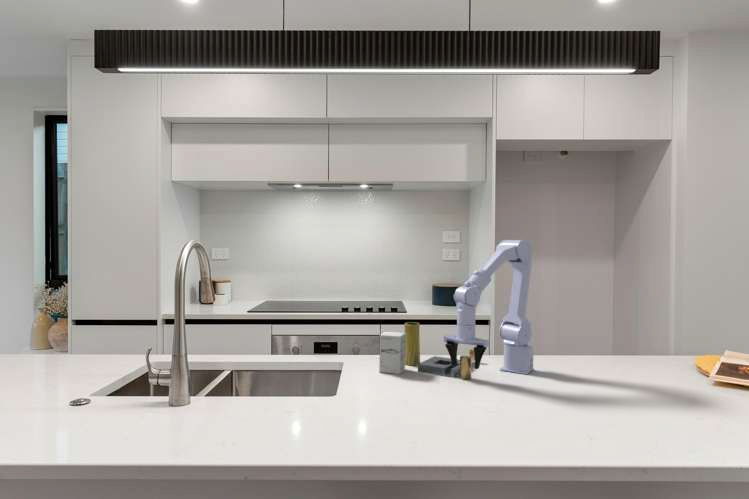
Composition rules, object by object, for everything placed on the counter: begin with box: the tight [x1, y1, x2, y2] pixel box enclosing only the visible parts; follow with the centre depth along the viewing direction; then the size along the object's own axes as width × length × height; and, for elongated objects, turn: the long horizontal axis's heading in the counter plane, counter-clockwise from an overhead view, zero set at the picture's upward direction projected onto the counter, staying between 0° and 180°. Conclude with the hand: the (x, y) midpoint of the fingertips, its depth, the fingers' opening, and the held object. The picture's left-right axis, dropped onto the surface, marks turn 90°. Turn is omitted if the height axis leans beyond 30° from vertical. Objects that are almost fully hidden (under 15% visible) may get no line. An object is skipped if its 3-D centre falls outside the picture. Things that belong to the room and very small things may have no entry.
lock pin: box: [457, 348, 475, 366], centre depth 178 cm, size 2×14×4 cm, turn 148°
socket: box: [417, 355, 460, 378], centre depth 173 cm, size 13×13×2 cm
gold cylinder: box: [459, 354, 473, 381], centre depth 163 cm, size 4×4×7 cm
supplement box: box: [378, 331, 406, 375], centre depth 171 cm, size 7×7×13 cm
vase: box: [404, 321, 421, 367], centre depth 181 cm, size 6×6×14 cm
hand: (465, 366), depth 163 cm, fingers open, 7 cm apart
